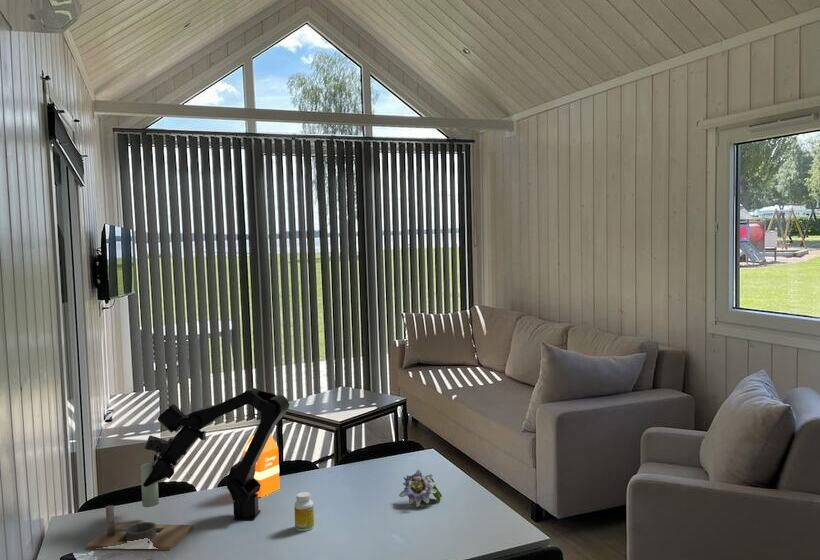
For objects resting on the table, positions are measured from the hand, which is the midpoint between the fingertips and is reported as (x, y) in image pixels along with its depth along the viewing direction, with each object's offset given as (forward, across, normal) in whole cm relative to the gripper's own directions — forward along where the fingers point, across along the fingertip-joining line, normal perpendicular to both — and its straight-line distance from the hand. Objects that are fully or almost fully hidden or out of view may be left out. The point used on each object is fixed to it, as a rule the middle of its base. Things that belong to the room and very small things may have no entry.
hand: (144, 483), depth 191 cm
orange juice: (-17, -10, +33) cm, 38 cm away
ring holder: (+8, +13, +8) cm, 18 cm away
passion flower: (-49, +20, +66) cm, 84 cm away
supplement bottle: (-22, +25, +39) cm, 52 cm away
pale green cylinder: (+4, 0, +6) cm, 7 cm away
